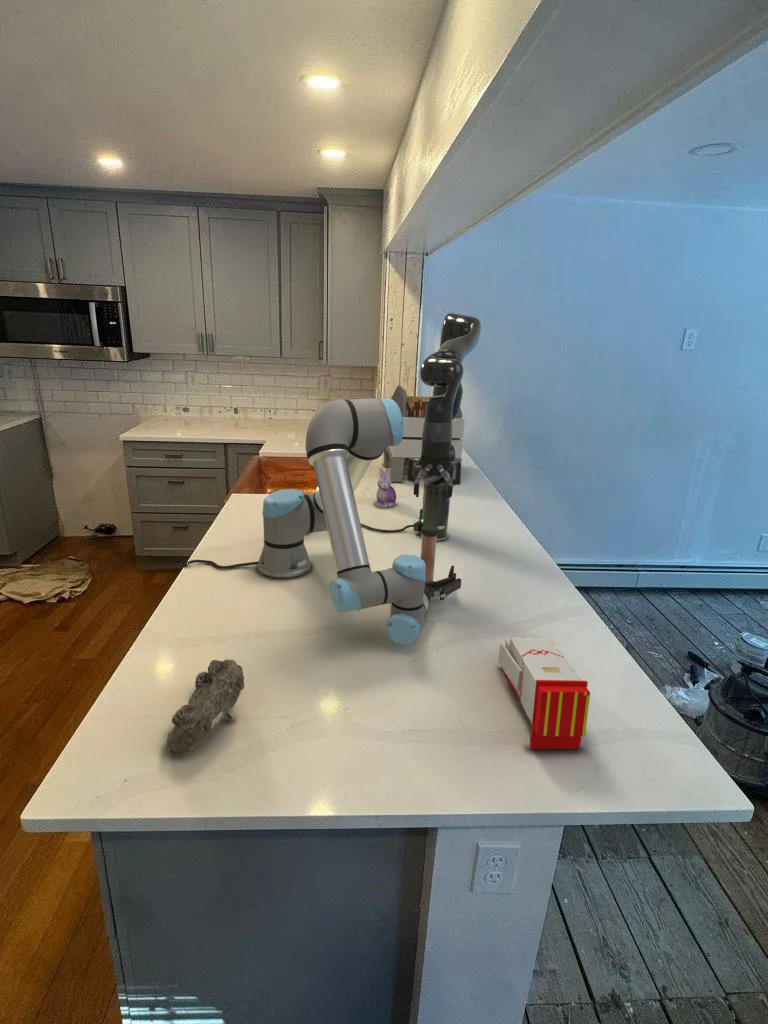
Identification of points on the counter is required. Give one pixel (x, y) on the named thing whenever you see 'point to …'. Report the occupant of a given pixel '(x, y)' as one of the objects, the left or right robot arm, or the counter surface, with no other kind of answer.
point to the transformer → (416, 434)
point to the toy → (546, 691)
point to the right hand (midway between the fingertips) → (432, 497)
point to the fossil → (206, 705)
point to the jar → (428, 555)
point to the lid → (429, 530)
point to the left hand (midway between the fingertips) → (428, 566)
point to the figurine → (385, 490)
